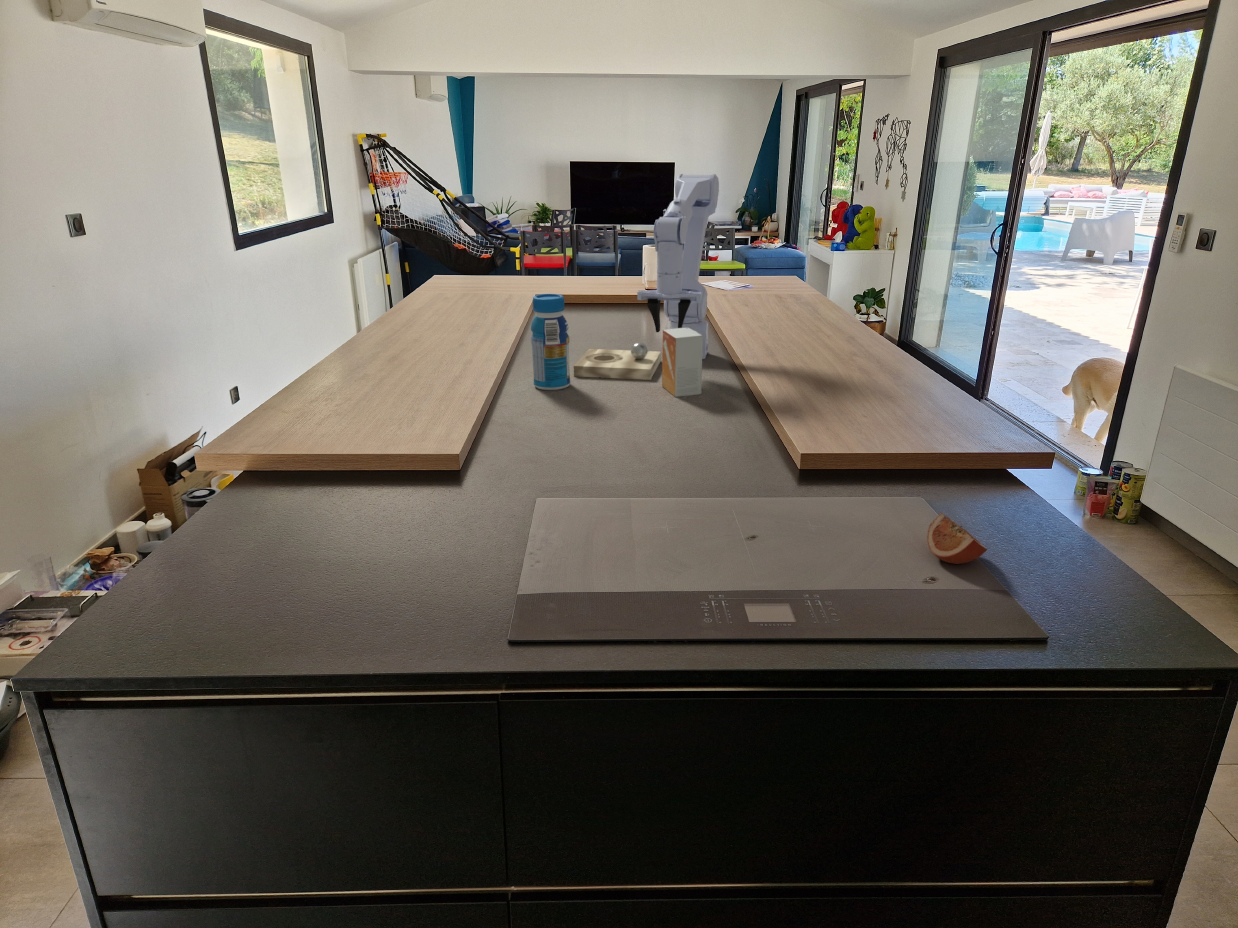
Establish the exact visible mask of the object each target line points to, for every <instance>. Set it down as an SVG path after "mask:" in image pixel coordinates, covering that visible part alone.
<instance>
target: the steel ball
mask: <svg viewBox="0 0 1238 928" xmlns="http://www.w3.org/2000/svg"><path fill="white" fill-rule="evenodd" d="M630 350H631V355H632V356H633V358H635V359H637V360H641V359H644V358H645V357H646V355H647V353H648V351H649V350H648V347H647V346H646V344H644V343H643V342H636V343H634V344H633V345H632V346H631V347H630Z"/></svg>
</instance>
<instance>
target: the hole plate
mask: <svg viewBox="0 0 1238 928" xmlns="http://www.w3.org/2000/svg"><path fill="white" fill-rule="evenodd" d="M661 361H662V351H657V350H655V351H653V350H648V353H647V355H646V357H645V358H644V359H641V360H637V359H635V358H633V356H632V355H631V349H629V350H627V349H605V348H604V349H603V348H602V349H601V348H589V349H588V350H586V352H585V353H584V354H583V355H582V356H581V357H580V358H579V359H578V360H577V362H576V363H574V365H573V377H581V378H585V377H586V378H599V377H601V378H602V379H603V378H604V379H622V380H623V379H624V380H644V381H645V380H646V381H647V380H649V381H651V380H652V378H653V376H654V374H655V373H656V371H657V369H658V367H659V365H660V363H661Z"/></svg>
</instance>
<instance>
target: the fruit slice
mask: <svg viewBox="0 0 1238 928" xmlns="http://www.w3.org/2000/svg"><path fill="white" fill-rule="evenodd" d="M926 537H927V538H926V539H927V545H928V549H929V551H930V552H931V553H932V554H933V555H934V556H935V557H936V558H938V559H939V560H941V561H942V562H945V563H949V564H956V565H959V564H960V565H961V564H965V563H969V562H971V561H972V562H973V561H974V560H976V559H979V558H980V557H981V556H983V554H985V553H986V552H987V550H988V548H987V547H986V546H984V545H983V543H981V542H980V541H979V540H978V539H976V538H975V537H974V536H973V535H972V534H971V533H969V532H968V531H967V530H966V529H965V528H963V525H959V524H958V523H956V522H955V521H954V520H952V519H951V518H949V517H948V516H947V515H945V514H944V513H943V512H940V513H939V514H938V516H936V518H935V519H933V521H932V522H931V523H930V524H929V525H928V530H927V535H926Z"/></svg>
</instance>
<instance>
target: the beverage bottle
mask: <svg viewBox="0 0 1238 928" xmlns="http://www.w3.org/2000/svg"><path fill="white" fill-rule="evenodd" d="M532 308H533V309H532V310H533V312H534V314H535V316H534V317H533V319H532V322H531V325H530V332H532V335H531V337H530V344H531V353H532V367H533V371H532V372H533V385H534V387H535V388H537V389H539V390H544V391H556V390H557V391H558V390H562V389H566V388H568V387H569V386H570V384H571V377H570V376H571V375H570V346H569V345H570V335H569V334H568V331H569V324H568V321H567V319H566V318H565V316H564V314H563V313H564V312H565V297H564V295H562V294H559V293H558V294H557V293H541V294H536V295H533V297H532Z"/></svg>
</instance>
